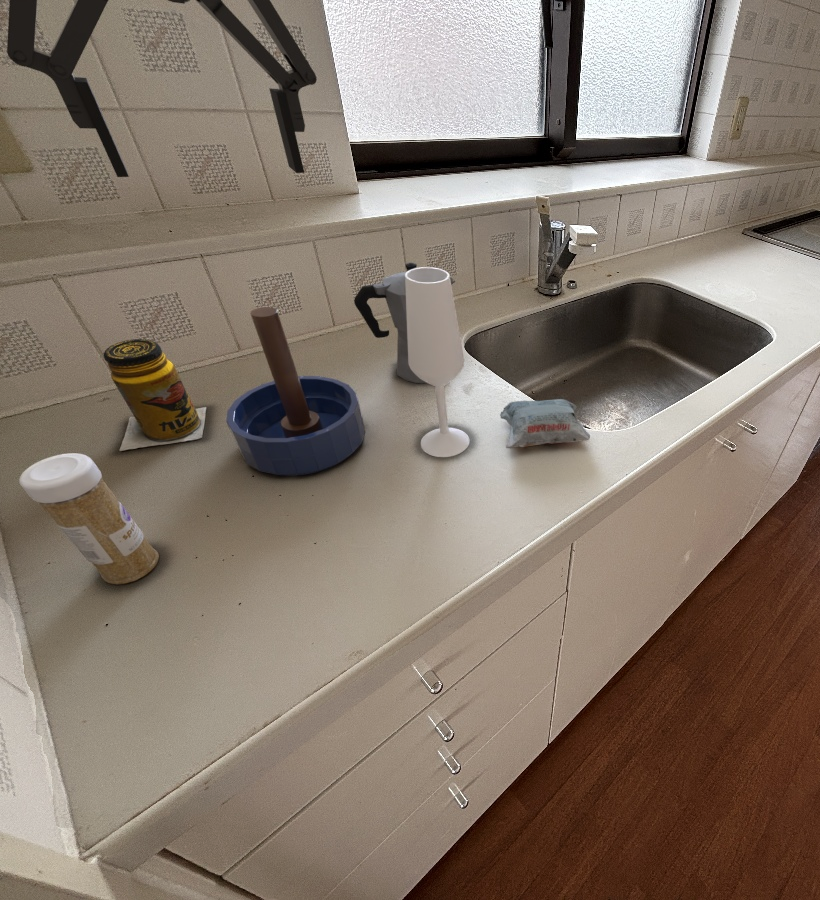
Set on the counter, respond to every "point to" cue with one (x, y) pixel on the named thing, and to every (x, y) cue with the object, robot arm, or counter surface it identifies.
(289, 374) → the muddler
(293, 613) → the counter surface
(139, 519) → the counter surface
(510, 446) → the packaged food
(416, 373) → the champagne flute
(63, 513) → the sprinkles bottle
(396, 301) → the coffeepot
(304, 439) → the bowl
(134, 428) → the condiment
